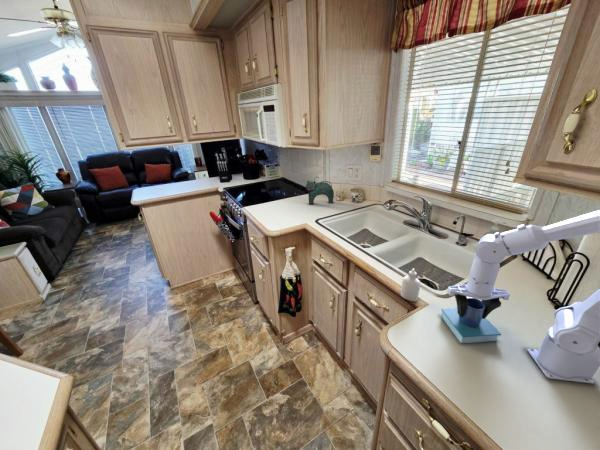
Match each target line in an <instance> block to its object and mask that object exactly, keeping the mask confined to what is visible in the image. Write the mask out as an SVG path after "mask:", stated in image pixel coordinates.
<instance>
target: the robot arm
mask: <svg viewBox="0 0 600 450" xmlns="http://www.w3.org/2000/svg"><path fill="white" fill-rule="evenodd" d="M598 233H600V209H598V210H594V211H592V212H587V213H585V214H581V215H578V216H575V217H572V218H568V219H565V220H562V221H558V222H555V223H552V224H548V225H546V226H540V225H536V224H528V225H526V224H525V223H522V224H520V225H517V228H515V229H511V230H508V231H503V232H499V231H497V232H495V233H490V234H489V233H488V234H485V235H483V236H482V237H480V239H479V240H478V243H477V244H476V247H475V254H474V259H473V261H472V264H471V268H470V271H469V274H468V275H469V276H468V278H467V282H466V284H459V285H452V286H451V285H449V286H448V287H447V291H446V292H447V294H448V296H449V297H454V298H455V302H456V306H457V307H456V308H457V313H458V314H459V316H460V317H463V315H464V312H465V309H466V307H467V306H468V305H469V302H468V301H467V297H472V298H476V299H478V300H480V301H482V302H483V303H484V304H485V311H484V314H483V317H482V319H485V318H486V319H487V317H488V316H489V315H490V313H492V312H493V311H494V310H496V309H498V308H500V307H501V306H502V301H501V300H500V299H502V300H503V301H509V299H510V296H511V293H510V292H509V291H508V290H507V289H501V288H496V287H495V283H496V280H497V278H498V275H499V272H500V268H501V264H500V263H501V262H502V261H503V260H504V259H505V258H506V257H510V256H511V257H512V256H515V255H521V254H526V253H530V252H536V251H539V250H544V249H546V247H547V246H548V245H549V243H550V242H555V241H560V240H566V239H572V238H577V237H583V236H589V235H593V234H598ZM554 319H555V322H554V323H555V324H554V325H552V326H551V327H549V328H548V329H547V332H546V334H545V336H544V338H543V339H542V342H541V344H540V346H539V348H538V349H537V348H536V349H535V348H527V352H528V354H529V355H530V357H531V358H532V359H533V360H534V362H535V364H536V365H537V366H538V368H539V369H540V370H541V372H542V373H543V374H544V376H545V377H546V378H547V379H551V380H560V381H567V382H568V381H570V382H576V383H585V384H595V380H594V379H593V377H594V376H595V374H596V372H597V371H598V370H599V368H600V346H599V343H600V288H599V289H597V290H596V291H594V293H592V294H591V295H590V296H588V297H587V298H586V299H585V300H583V301H574V302H573V303H572V304H570V305H567V306H563V307H562V306H561V307H559V308H558V309H556V310H555V312H554Z"/></svg>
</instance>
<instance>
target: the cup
mask: <svg viewBox="0 0 600 450" xmlns="http://www.w3.org/2000/svg"><path fill="white" fill-rule="evenodd" d="M466 297H467V301H468V302H469V305H468V306H467V307H466V309H465V312H464V315H463V317H460V316H459V320H460V321H461V322H462V323H463V324H465V325H466V326H469V327H478V326H479V325H480V323H481V320H482V317H483V314H484V311H485V304H484V303H483V302H482V300H480V299H476V298H472V297H468V296H466Z"/></svg>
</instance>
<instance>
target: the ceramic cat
mask: <svg viewBox="0 0 600 450" xmlns="http://www.w3.org/2000/svg"><path fill="white" fill-rule="evenodd" d="M316 178H318V179H320V177H319V176H315V177H314V178H313V180H307V181H306V184H305V188H306V190H307V191H308V197H307V198H308V205H312V206H313V205H314V202H315V199H316V197H317V196H320V195H321V196H326V197H327V202H328V204H333V203H334V197H335V192H334V189H333V184H332V183H331V182H330V181H329V180H322V181H320V182H316Z"/></svg>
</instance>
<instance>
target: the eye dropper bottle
mask: <svg viewBox="0 0 600 450" xmlns="http://www.w3.org/2000/svg"><path fill="white" fill-rule="evenodd" d="M417 275H418V274H417V271H415V268H412V269H411V270H409V271H408V275H405V276H403V277H402V281H401V287H400V297H401V298H403V299H404V300H407V301H410V302H418V299H419V295H420V289H421V281H420V280H419V278H417Z"/></svg>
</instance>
